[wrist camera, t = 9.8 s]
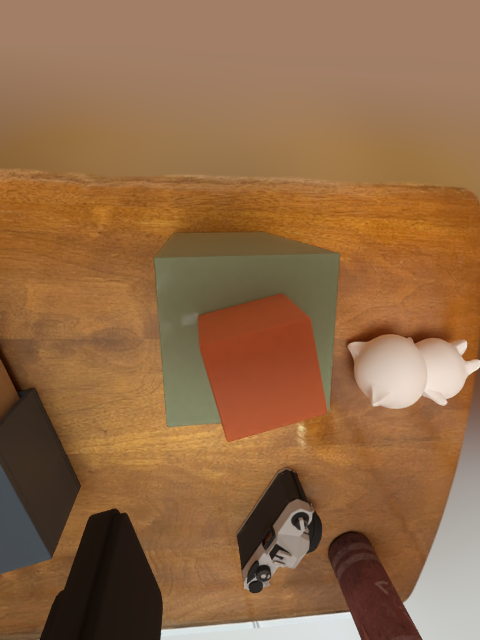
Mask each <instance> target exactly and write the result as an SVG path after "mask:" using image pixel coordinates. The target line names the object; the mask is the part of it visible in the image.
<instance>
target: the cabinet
mask: <svg viewBox="0 0 480 640" xmlns="http://www.w3.org/2000/svg"><path fill="white" fill-rule="evenodd" d="M17 394H18V396H19V398H20V399H19V400H18V401H17V402H16V403H15V404H14V405H13V406H12V408H11V409H10V410H9V411H8V412H7V413H6V414H5V415H4V416H3V417H2V419H1V420H0V574H2V573H5V572H9V571H12V570H15V569H19V568H22V567H25V566H29V565H32V564H36V563H39V562H42V561H46V560H49V559H52V557H53V554H54V552H55V549H56V547H57V544H58V542H59V539H60V537H61V534H62V532H63V529H64V527H65V524H66V522H67V519H68V517H69V514H70V512H71V509H72V507H73V504H74V502H75V499H76V497H77V494H78V492H79V489H80V487H81V485H80V483H79V481H78V479H77V477H76V475H75V473H74V471H73V468H72V466H71V464H70V462H69V460H68V458H67V456H66V454H65V452H64V449H63V447H62V445H61V443H60V441H59V439H58V437H57V435H56V432H55V430H54V428H53V426H52V424H51V422H50V420H49V418H48V415H47V413H46V411H45V409H44V407H43V405H42V403H41V401H40V398H39V396H38V394H37V392H36V390H35V388H31V389H27V390H24V391H20V392H17Z"/></svg>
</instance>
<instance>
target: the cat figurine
mask: <svg viewBox="0 0 480 640" xmlns="http://www.w3.org/2000/svg"><path fill="white" fill-rule="evenodd" d="M466 348H467V341H466V340H457V341H455V342H452V343H448V342H446V341H444V340H442V339H439V338H428V339H424V340H422V341H419V342H417V343H414V342H413V340H412V338H411V337H408V338H405V337H403V336H400V335H395V334H386V335H381V336H379V337H376V338H374V339H372V340H371V341H368V342H352V343H350V344H348V349H349V351H350V352H351V354H352V357H353V360H354V376H355V380H356V382H357V385H358V386H359V388H360V389H361V391H362V392H363V393H364V394H365V395H366V396H367V397H368V398H369V399H370V402H371V405H372V406H379V405H381V406H384V407H387V408H392V409H401V408H405V407H408V406H410V405H412V404H414V403H415V402H416V401H417V400H418V399H419V398H420V397H421V395H422V396H425V397H427V398H430V399H432V400H433V401H435V402H436V403H437V404H439V405H442V406H444V405H446V404H447V401H446V399H448V398H451V397H453V396H455V395H456V394H457V393H458V392H459V391H460V390H461V389H462V387H463V385H464V383H465V380H466V378H467V376H468V375H469V374H471V373H472V372H474V371H475V370H477V369H478V368H479V367H480V360H477V359H474V360H471V361H464V359H463V358H462V355H463V353H464V352H465V350H466Z"/></svg>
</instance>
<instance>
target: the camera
mask: <svg viewBox="0 0 480 640" xmlns="http://www.w3.org/2000/svg"><path fill="white" fill-rule="evenodd" d="M310 505H311V507H310V506H309V502H308V501H307V498H306V496H305V493H304V491H303V488H302V486H301V483H300V481H299V478H298V475H297V473H296V471H294V470H291V469H289V468H286V467H285V468H283V469H281V470H279V471H278V472H277V474H276V475H275V477H274V478H273V480H272V481H271V483H270V484H269V486H268V487H267V489H266V490H265V492H264V493H263V494H262V496H261V497H260V499H259V500H258V502H257V503H256V505H255V506H254V508H253V509H252V511H251V512H250V514H249V515H248V517H247V518H246V520H245V521H244V523H243V524H242V526H241V527H240V529H239V530H238V532H237V540H238V545H239V553H240V560H241V567H242V568H241V570H242V577H243V582H244V589H247V590H249V591H250V592H252V593H258V592H260V591H261V590H262V589H263V588H264V586H266V587H268V586H269V584H270V580H269V579H270V578H271V577H272V575H273V574H274V572H275V571H276V570H277V568H278V567H279V566H280V567H283V568H285V566H287V567H289V568H296V566H297V565H298V564H299V562H300V561H301V559H302V558H303V557H304V555H305V554H307V553H309V552H312V551H314V550H315V549H316V548H317V547H318V545H319V543H320V540H321V536H322V523H321V520H320V518H319V516H318V515H317V513H316V512H315V511H314V508H312V504H311V502H310Z"/></svg>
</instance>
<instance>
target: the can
mask: <svg viewBox="0 0 480 640" xmlns="http://www.w3.org/2000/svg"><path fill="white" fill-rule="evenodd" d="M329 560H330V562H331V565H332V567H333V570H334V572H335V575H336V577H337V580H338V582H339V585H340V587H341V590H342V592H343V595H344V597H345V600H346V602H347V605H348V607H349V610H350V612H351V615H352V617H353V620H354V622H355V625H356V627H357V630H358V632H359V635H360V637H361V640H422V638H421V636H420V634H419V632H418V630H417V629H416V627H415V625H414V623H413V621H412V619H411V618H410V616H409V614H408V612H407V610H406V608H405V607H404V605H403V603H402V601H401V599H400V597H399V595H398V594H397V592H396V590H395V588H394V586H393V584H392V582H391V581H390V579H389V577H388V575H387V573H386V571H385V570H384V568H383V566H382V564H381V562H380V560H379V558H378V557H377V555H376V553H375V551H374V549H373V547H372V545H371V544H370V542H369V540H368V539H367V538H366V537H364V536H363V535H361V534H358V533H347V534H343V535H341V536H339V537H338V538H337V539H336V540H334V542H333V543H332V545H331V547H330V551H329Z"/></svg>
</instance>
